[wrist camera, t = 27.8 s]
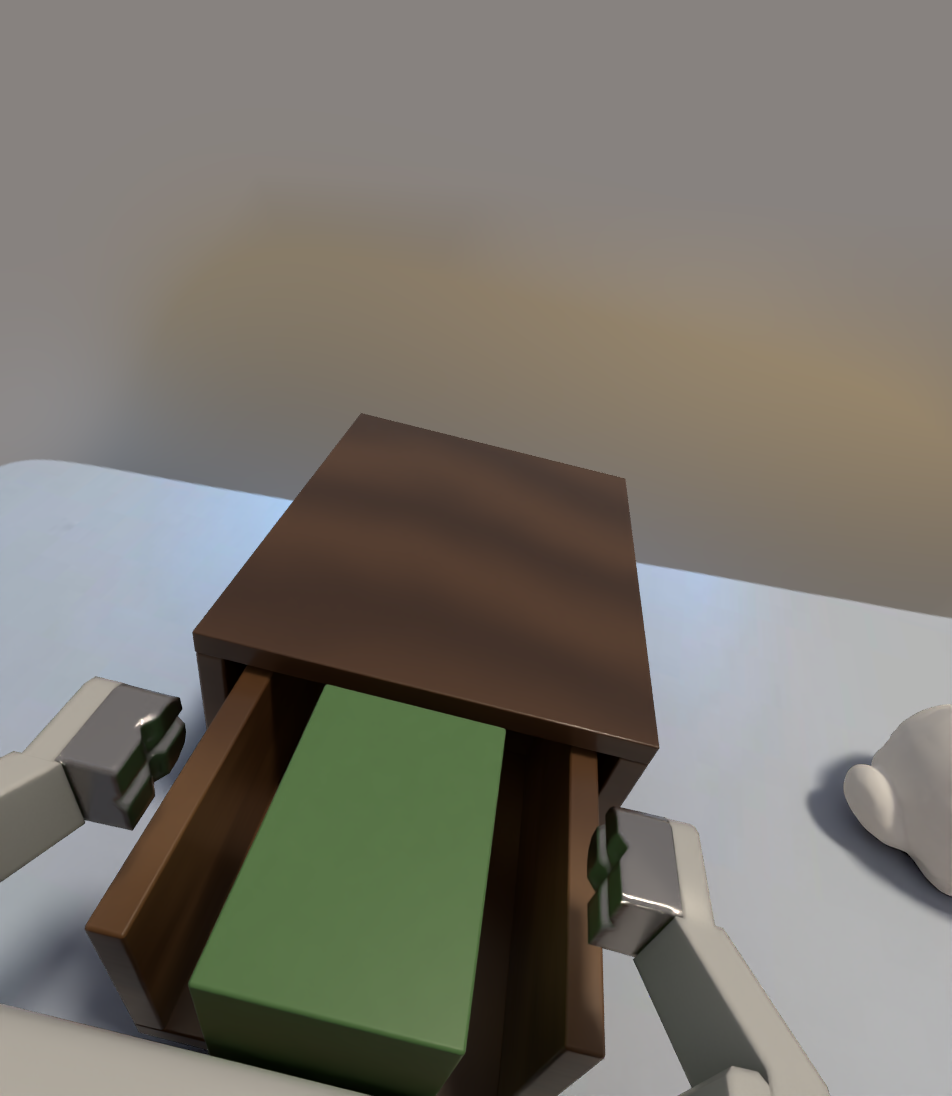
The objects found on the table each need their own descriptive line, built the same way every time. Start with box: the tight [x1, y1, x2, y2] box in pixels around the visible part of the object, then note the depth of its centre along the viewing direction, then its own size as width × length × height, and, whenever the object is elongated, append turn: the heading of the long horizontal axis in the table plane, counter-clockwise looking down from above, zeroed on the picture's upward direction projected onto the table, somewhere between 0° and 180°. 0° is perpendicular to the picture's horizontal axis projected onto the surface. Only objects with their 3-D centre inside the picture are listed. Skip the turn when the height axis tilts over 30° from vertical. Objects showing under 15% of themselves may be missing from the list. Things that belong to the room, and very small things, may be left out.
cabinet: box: [193, 413, 659, 826], centre depth 24 cm, size 15×13×9 cm
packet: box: [188, 684, 506, 1096], centre depth 13 cm, size 4×6×9 cm
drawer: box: [85, 665, 605, 1096], centre depth 14 cm, size 18×11×7 cm, turn 171°
